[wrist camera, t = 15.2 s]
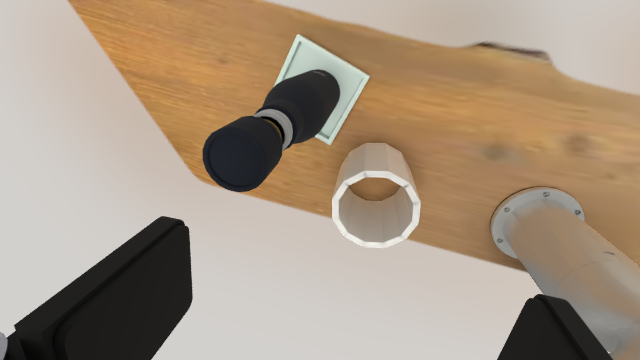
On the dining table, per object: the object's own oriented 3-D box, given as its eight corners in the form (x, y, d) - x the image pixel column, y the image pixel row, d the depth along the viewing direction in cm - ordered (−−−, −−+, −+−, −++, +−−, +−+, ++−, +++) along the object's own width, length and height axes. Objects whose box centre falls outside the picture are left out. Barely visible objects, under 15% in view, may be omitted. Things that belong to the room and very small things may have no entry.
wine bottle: (304, 120, 46) (209, 222, 19) (289, 77, 44) (159, 122, 17) (345, 107, 45) (306, 199, 18) (332, 62, 43) (264, 86, 15)
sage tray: (369, 75, 44) (369, 76, 41) (332, 140, 48) (330, 145, 46) (301, 34, 43) (297, 34, 41) (269, 105, 47) (264, 107, 45)
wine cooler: (422, 164, 47) (438, 199, 36) (384, 216, 52) (388, 260, 41) (362, 130, 47) (360, 154, 36) (328, 185, 51) (317, 222, 40)
